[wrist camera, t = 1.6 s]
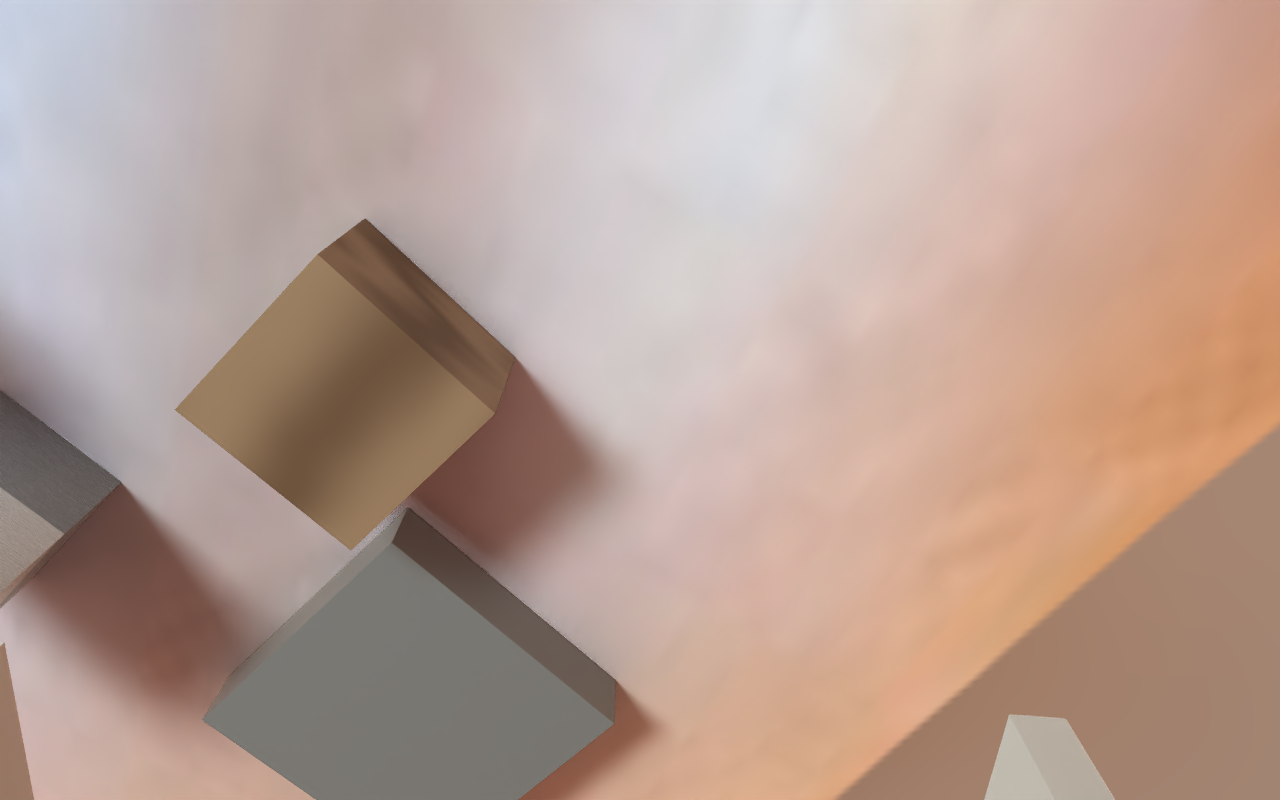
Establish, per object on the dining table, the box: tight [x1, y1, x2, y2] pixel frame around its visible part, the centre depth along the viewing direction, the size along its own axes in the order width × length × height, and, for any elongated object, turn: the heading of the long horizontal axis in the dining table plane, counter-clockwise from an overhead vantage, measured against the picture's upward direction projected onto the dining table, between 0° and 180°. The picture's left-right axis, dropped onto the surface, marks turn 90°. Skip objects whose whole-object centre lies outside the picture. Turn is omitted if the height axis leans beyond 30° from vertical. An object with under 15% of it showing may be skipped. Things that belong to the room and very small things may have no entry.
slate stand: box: [202, 508, 616, 800], centre depth 44 cm, size 13×13×3 cm
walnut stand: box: [175, 219, 515, 550], centre depth 37 cm, size 8×8×6 cm
